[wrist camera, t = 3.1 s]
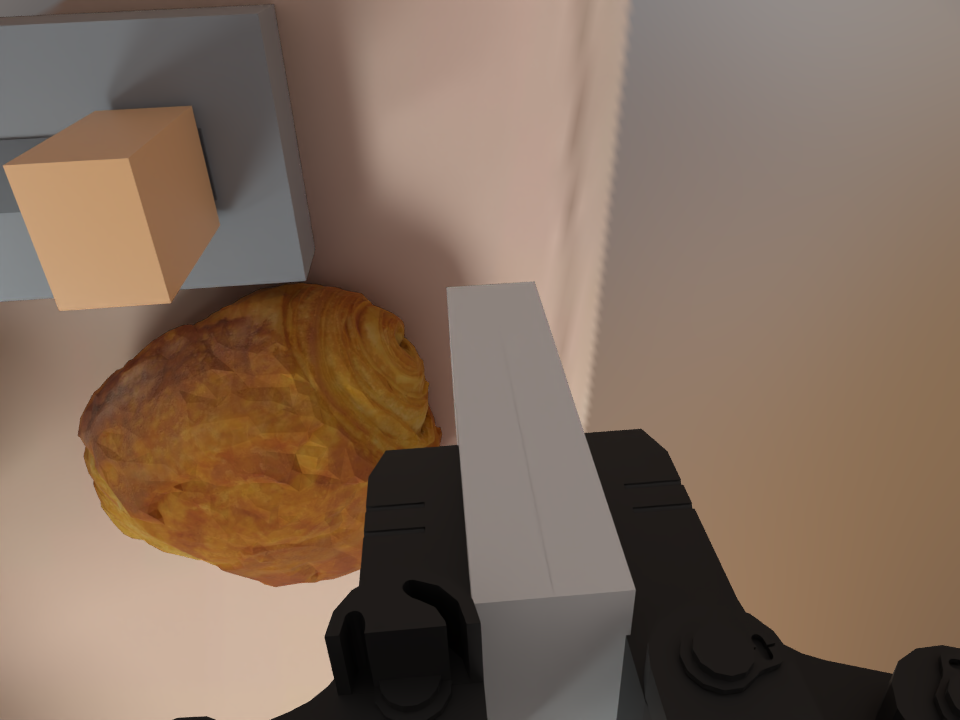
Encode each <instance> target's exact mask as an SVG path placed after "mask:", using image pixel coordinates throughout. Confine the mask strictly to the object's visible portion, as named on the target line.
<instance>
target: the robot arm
mask: <svg viewBox="0 0 960 720" xmlns="http://www.w3.org/2000/svg"><path fill="white" fill-rule="evenodd" d="M446 289H447V304H448V319H449V334H450V350H451V365H452V380H453V395H454V410H455V424H456V437H457V445H452V446H439V447H425V448H412V449H399V450H386V451H385V453H384V454H383V456H382V457H381V459H380V460H379V462H378V463H377V465H376V466H375V468H374V469H373V471H372V472H371V474H370V475H369V477H368V487H367V499H366V512H365V522H364V538H363V546H362V557H361V569H360V581H359V586H358V587H357V588H355V589H353V590H352V591H351V592H350V593H349V594H348V595H347V596H346V598H345V599H344V600H343V601H342V602H341V603H340V604H339V606H338V607H337V608H336V609H335V610H334V611H333V614H332V617H331V620H330V622H329V625H328V628H327V631H326V634H325V641H326V645H327V650H328V654H329V658H330V663H331V667H332V671H333V676H334V680H333V681H332V682H331V683H330V685H329V686H328V687H327V688H325V689H324V690H323V691H322V692H320V693H319V694H318V695H317V696H315V697H314V698H313V699H312V700H311V701H309V702H307V703H305V704H303V705H301V706H300V707H298V708H296V709H294V710H292V711H290V712H288V713H286V714H283V715H281V716H278V717H276V718H273V719H271V720H960V648H955V647H949V646H944V645H940V646H932V647H925V648H917V649H915V650H914V651H912V652H911V653H909V654H908V655H906V656H905V657H904V658H902V659H901V660H899V661H898V663H897V666H896V668H895V670H894V672H893V674H890V673H886V672H880V671H876V670H870V669H866V668H860V667H856V666H850V665H846V664H841V663H836V662H831V661H826V660H822V659H819V658H816V657H812V656H809V655H805V654H802V653H800V652H798V651H796V650H794V649H792V648H790V647H788V646H786V645H784V644H783V643H782V642H781V640H780V639H779V638H778V636H777V635H776V634H775V633H774V631H773V630H771V629H770V628H769V627H767V626H766V625H764V624H763V623H762V622H760V621H759V620H758V619H756V618H755V617H754V616H752V615H751V614H749V613H746V612H745V611H744V609H743V607H742V606H741V604H740V602H739V601H738V599H737V597H736V595H735V593H734V591H733V589H732V587H731V585H730V583H729V580H728V578H727V576H726V574H725V572H724V570H723V568H722V566H721V563H720V561H719V559H718V557H717V555H716V553H715V551H714V549H713V547H712V545H711V542H710V541H709V538H708V536H707V534H706V532H705V530H704V528H703V525H702V524H701V521H700V519H699V517H698V515H697V513H696V511H695V509H692V502H691V500H690V498H689V496H688V494H687V492H686V490H685V487H684V485H681V479H680V477H679V475H678V473H677V471H676V468H675V466H674V464H673V462H672V460H671V458H670V456H669V454H668V452H667V451H666V450H665V449H664V448H663V447H662V446H660V445H659V444H658V443H657V442H656V441H655V440H654V439H653V438H651V437H650V436H649V435H648V434H647V433H646V432H644V431H643V430H642V429H633V430H622V431H621V430H620V431H607V432H593V433H584V431H583V428H582V425H581V422H580V419H579V416H578V412H577V409H576V406H575V403H574V400H573V397H572V394H571V391H570V388H569V385H568V382H567V379H566V376H565V373H564V370H563V367H562V364H561V361H560V358H559V355H558V352H557V348H556V345H555V342H554V339H553V336H552V333H551V330H550V327H549V324H548V321H547V318H546V315H545V312H544V309H543V306H542V303H541V300H540V297H539V294H538V291H537V288H536V284H535V282H520V283H505V284H489V285H474V286H458V287H446ZM174 720H215V719H212V718H210V717H207V716H204V717H186V718H176V719H174Z"/></svg>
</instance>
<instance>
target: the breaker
mask: <svg viewBox="0 0 960 720" xmlns="http://www.w3.org/2000/svg"><path fill="white" fill-rule="evenodd" d="M3 168H4V170H5V173H6V175H7V178H8V181H9V183H10V186H11V188H12V191H13V194H14V196H15V199H16V201H17V204H18V206H19V209H20V212H21V214H22V217H23V219H24V222H25V224H26V227H27V230H28V232H29V235H30V237H31V240H32V242H33V245H34V248H35V250H36V253H37V255H38V258H39V260H40V263H41V266H42V268H43V271H44V273H45V276H46V278H47V281H48V284H49V286H50V289H51V291H52V294H53V297H54V299H55V302H56V304H57V307H58V309H59V311H65V310H80V309H95V308H109V307H124V306H138V305H153V304H167V303H171V302H172V301H173V299H174V298H175V296H176V294H177V293H178V291H179V290H180V288H181V286H182V285H183V283H184V282H185V280H186V279H187V277H188V275H189V274H190V272H191V271H192V269H193V267H194V266H195V264H196V263H197V261H198V260H199V258H200V256H201V255H202V253H203V252H204V250H205V249H206V247H207V245H208V244H209V242H210V241H211V239H212V237H213V236H214V234H215V233H216V231H217V230H218V228H219V226H220V222H219V218H218V214H217V210H216V205H215V201H214V197H213V193H212V189H211V184H210V180H209V176H208V172H207V168H206V163H205V159H204V155H203V151H202V147H201V143H200V138H199V134H198V130H197V126H196V122H195V117H194V113H193V109H192V106H176V107H158V108H139V109H121V110H103V111H94V112H92V113H91V114H89V115H87V116H86V117H84V118H82V119H81V120H79V121H77V122H75V123H74V124H72V125H70V126H69V127H67V128H65V129H64V130H62V131H60V132H58V133H57V134H55V135H53V136H52V137H50V138H48V139H47V140H45V141H43V142H42V143H40V144H38V145H36V146H35V147H33V148H31V149H30V150H28V151H26V152H25V153H23V154H21V155H19V156H18V157H16V158H14V159H13V160H11V161H9V162H8V163H6V164H4V165H3Z"/></svg>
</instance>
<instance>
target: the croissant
mask: <svg viewBox="0 0 960 720" xmlns="http://www.w3.org/2000/svg"><path fill="white" fill-rule="evenodd" d="M428 386H429V382H427V381H425V375H424V364H423V360H422V359H421V358H420V357H419V355H418V353H417V351H416V349H415V347H414V346H413V345H412V344H411V343H410V342H409V341H408V340H407V339H406V338H405V337H404V324H403V321H402V320H401V319H400V318H399V317H397V316H396V315H394V314H393V313H391V312H389V311H387V310H384V309H382V308H380V307H377V306H374V305H372V303H371V302H370V301H368V300H367V299H366V297H365V296H364V295H363V294H362V293H357V292H351V291H346V290H343V289H340V288H337V287H324V286H322V285H318V284H306V283H296V284H284V285H281V286H278V287H272V288H263V289H259V290H257V291H255V292H253V293H251V294H249V295H246V296H244V297H242V298H241V299H239V300H238V301H236V302H235V303H233V304H231V305H229V306H226V307H224V308H221V310H219V311H217V312H215V313H213V314H211V315H210V316H209V317H208V318H206V319H204V320H202V321H200V322H197V323H195V325H194V326H193V325H182V326H180V327H177V328H175V329H172V330H170V331H168V332H166V333H165V334H163V335H162V336H160V337H158V338H157V339H155V340H153V341H152V342H151V343H150V344H149V345H147V346H146V347H145V348H144V349H143V350H142V351H141V352H140V353H139V354H138V355H136V356H135V357H134V358H133V359H132V360H129V361H128V362H127V363H126V364H125V366H124V367H123V368H121V369H119V370H116V371H115V372H114V373H113V374H112V375H111V376H110V377H109V378H108V379H107V380H106V381H105V382H104V383H103V384H102V386H101V387H100V388H99V389H98V390H96V391H95V392H94V393H93V395H92V397H91V399H90V401H89V403H88V404H87V406H86V408H85V410H84V412H83V414H82V416H81V418H80V424H79V431H78V436H79V437H80V438H81V440H82V441H83V443H84V445H85V446H86V447H85V452H84V459H85V463H86V466H87V469H88V472H89V474H90V476H91V477H92V478H93V480H94V487H95V490H96V492H97V495H98V497H99V499H100V501H101V507H102V508H103V510H104V511H105V512H106V514H107V515H108V516H109V518H110V519H111V520H112V522H113V523H114V524H115V525H116V526H117V527H118V528H119V529H120V530H121V531H122V532H123V534H125V535H127V536H129V537H131V538H134V539H141V540H145V541H146V542H147V543H148V544H150V545H152V546H154V547H156V548H157V549H159V550H161V551H163V552H167V553H171V554H176V555H180V556H184V557H188V558H192V559H196V560H203V561H206V562H208V563H210V564H213V565H216V566H218V567H219V568H220V569H221V570H223V571H226V572H229V573H233V574H236V575H239V576H243V577H247V578H250V579H254V580H257V581H260V582H262V583H263V584H266V585H270V586H273V587H278V586H285V585H291V584H297V583H314V582H318V581H321V580H329V579H335V578H338V577H341V576H344V575H346V574H349V573H352V572H354V571H357V570H359V569H361V557H362V546H363V538H364V522H365V512H366V499H367V487H368V477H369V475H370V474H371V472H372V471H373V469H374V468H375V466H376V465H377V463H378V462H379V460H380V459H381V457H382V456H383V454H384V453H385V451H386V450H399V449H412V448H425V447H439V446H440V442H441V437H442V432H441V429H440V427H436V426H435V420H434V416H433V414H432V412H431V409H430V407H429V406H428Z"/></svg>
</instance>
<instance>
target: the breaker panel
mask: <svg viewBox="0 0 960 720" xmlns="http://www.w3.org/2000/svg"><path fill="white" fill-rule="evenodd" d="M176 106H192V109H193V113H194V117H195V122H196V126H197V130H198V134H199V138H200V143H201V147H202V151H203V155H204V159H205V163H206V168H207V172H208V176H209V180H210V184H211V189H212V193H213V197H214V201H215V205H216V210H217V214H218V218H219V222H220V226H219V228H218V230H217V231H216V233H215V234H214V236H213V237H212V239H211V241H210V242H209V244H208V245H207V247H206V249H205V250H204V252H203V253H202V255H201V256H200V258H199V260H198V261H197V263H196V264H195V266H194V267H193V269H192V271H191V272H190V274H189V275H188V277H187V279H186V280H185V282H184V283H183V285H182V286H181V288H180V289H195V288H209V287H224V286H239V285H254V284H268V283H283V282H298V281H306V279H307V276H308V273H309V269H310V266H311V262H312V259H313V256H314V252H315V246H314V240H313V234H312V228H311V222H310V216H309V210H308V204H307V198H306V192H305V186H304V180H303V174H302V168H301V162H300V156H299V150H298V144H297V138H296V133H295V127H294V121H293V115H292V109H291V103H290V97H289V91H288V85H287V79H286V73H285V67H284V61H283V55H282V49H281V43H280V37H279V31H278V26H277V20H276V14H275V8H274V4H268V5H247V6H226V7H205V8H184V9H163V10H142V11H121V12H100V13H79V14H58V15H37V16H16V17H0V302H3V301H17V300H32V299H47V298H54V297H53V294H52V291H51V289H50V286H49V284H48V281H47V278H46V276H45V273H44V271H43V268H42V266H41V263H40V260H39V258H38V255H37V253H36V250H35V248H34V245H33V242H32V240H31V237H30V235H29V232H28V230H27V227H26V224H25V222H24V219H23V217H22V214H21V212H20V209H19V206H18V204H17V201H16V199H15V196H14V194H13V191H12V188H11V186H10V183H9V181H8V178H7V175H6V173H5V170H4V168H3V165H4V164H6V163H8V162H9V161H11V160H13V159H14V158H16V157H18V156H19V155H21V154H23V153H25V152H26V151H28V150H30V149H31V148H33V147H35V146H36V145H38V144H40V143H42V142H43V141H45V140H47V139H48V138H50V137H52V136H53V135H55V134H57V133H58V132H60V131H62V130H64V129H65V128H67V127H69V126H70V125H72V124H74V123H75V122H77V121H79V120H81V119H82V118H84V117H86V116H87V115H89V114H91V113H92V112H94V111H103V110H121V109H139V108H158V107H176Z"/></svg>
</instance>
